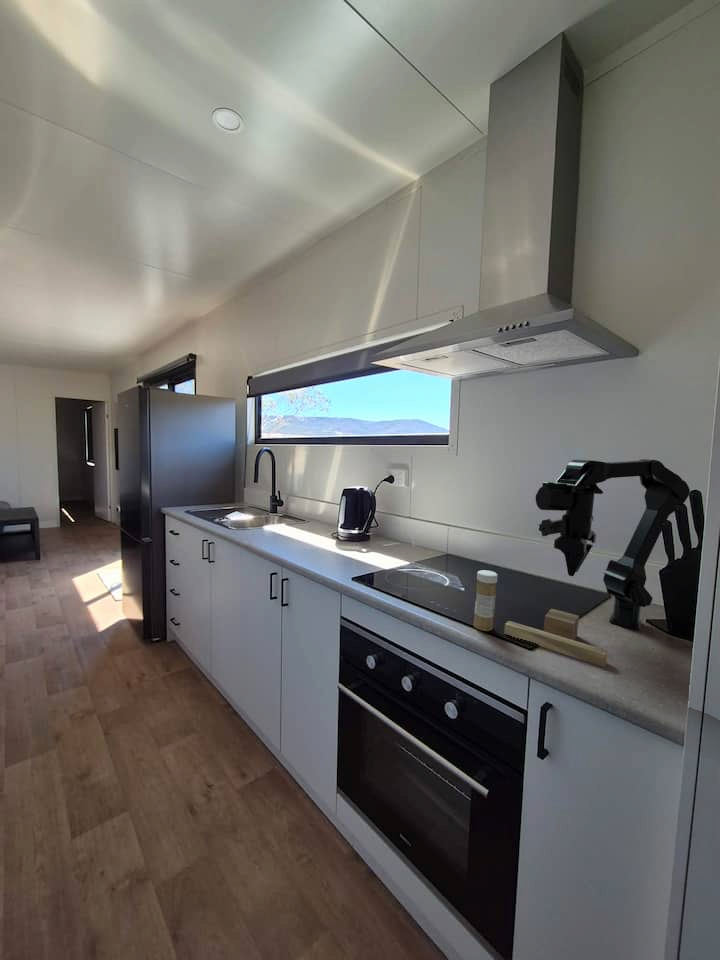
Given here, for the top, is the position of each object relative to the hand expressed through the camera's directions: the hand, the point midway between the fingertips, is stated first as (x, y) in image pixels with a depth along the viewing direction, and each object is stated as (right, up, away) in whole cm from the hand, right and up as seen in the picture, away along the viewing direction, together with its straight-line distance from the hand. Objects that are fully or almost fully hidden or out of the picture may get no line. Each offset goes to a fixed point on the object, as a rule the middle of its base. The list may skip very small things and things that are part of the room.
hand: (572, 573), depth 99 cm
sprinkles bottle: (-23, -12, -4) cm, 26 cm away
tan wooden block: (-6, -13, -6) cm, 16 cm away
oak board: (-11, -13, -12) cm, 21 cm away
